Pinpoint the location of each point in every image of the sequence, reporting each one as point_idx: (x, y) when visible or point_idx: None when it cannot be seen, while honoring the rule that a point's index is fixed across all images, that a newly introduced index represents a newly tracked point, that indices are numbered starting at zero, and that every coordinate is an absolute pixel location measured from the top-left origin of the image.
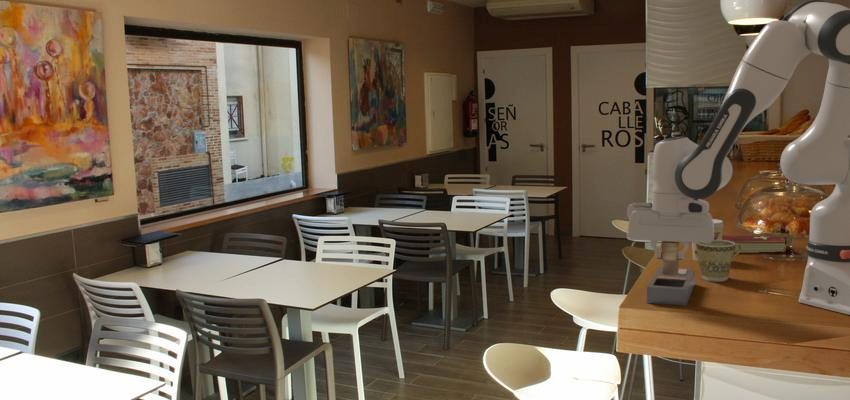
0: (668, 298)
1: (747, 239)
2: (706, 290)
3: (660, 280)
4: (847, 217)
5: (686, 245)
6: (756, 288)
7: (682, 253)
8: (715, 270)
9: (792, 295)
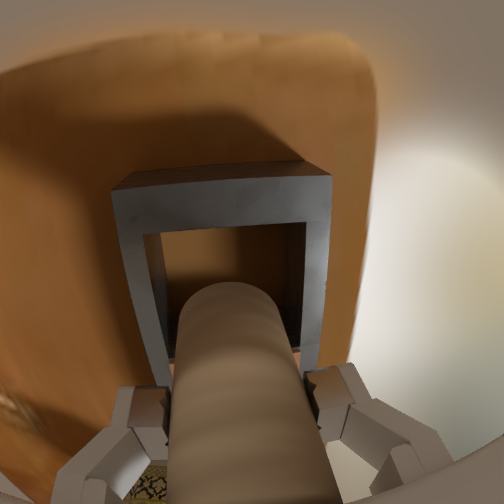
0: (209, 170)
1: None
2: None
3: None
4: None
5: (74, 485)
6: (47, 426)
7: (123, 425)
8: (147, 480)
9: None
